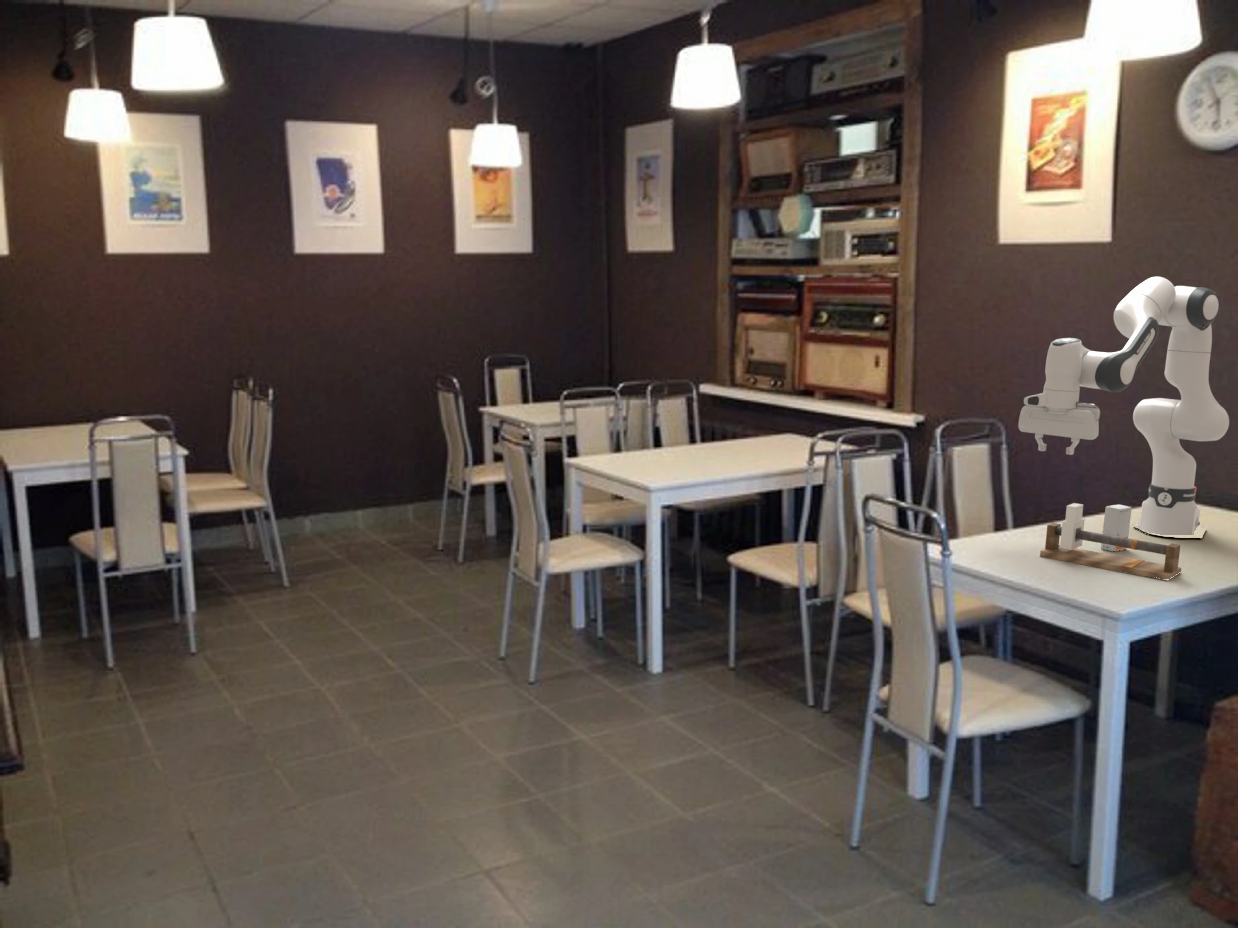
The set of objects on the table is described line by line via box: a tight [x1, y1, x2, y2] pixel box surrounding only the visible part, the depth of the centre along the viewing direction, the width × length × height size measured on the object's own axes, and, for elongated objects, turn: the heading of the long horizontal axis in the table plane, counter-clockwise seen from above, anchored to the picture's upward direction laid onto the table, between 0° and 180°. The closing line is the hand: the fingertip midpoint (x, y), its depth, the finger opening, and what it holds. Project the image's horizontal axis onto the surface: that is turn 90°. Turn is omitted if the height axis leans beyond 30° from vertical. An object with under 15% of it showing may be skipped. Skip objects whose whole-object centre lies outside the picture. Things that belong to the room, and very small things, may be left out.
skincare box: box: [1100, 504, 1133, 552], centre depth 306 cm, size 6×4×12 cm
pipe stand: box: [1039, 522, 1182, 579], centre depth 290 cm, size 32×10×8 cm, turn 47°
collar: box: [1059, 502, 1085, 550], centre depth 296 cm, size 3×7×11 cm, turn 137°
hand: (1055, 452), depth 297 cm, fingers open, 6 cm apart
